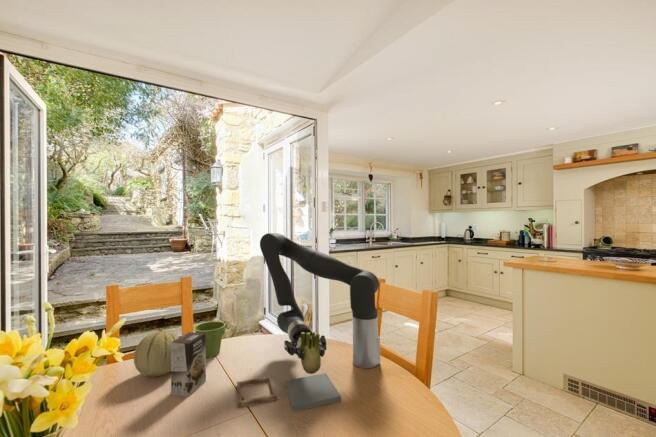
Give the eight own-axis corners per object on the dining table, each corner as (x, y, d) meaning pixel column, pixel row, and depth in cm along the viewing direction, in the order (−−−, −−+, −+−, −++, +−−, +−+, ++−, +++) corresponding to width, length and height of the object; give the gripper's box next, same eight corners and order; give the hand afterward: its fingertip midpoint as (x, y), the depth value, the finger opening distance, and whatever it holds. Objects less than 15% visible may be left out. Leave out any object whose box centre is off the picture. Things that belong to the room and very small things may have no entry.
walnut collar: (271, 379, 100) (271, 375, 100) (277, 399, 88) (277, 395, 88) (237, 385, 96) (237, 381, 96) (238, 407, 85) (238, 403, 85)
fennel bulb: (298, 371, 92) (298, 332, 92) (309, 365, 96) (309, 327, 96) (312, 377, 88) (312, 336, 88) (323, 371, 92) (323, 332, 92)
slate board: (326, 377, 101) (326, 373, 101) (341, 401, 87) (341, 396, 87) (284, 385, 96) (284, 380, 96) (293, 411, 83) (293, 406, 83)
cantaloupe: (138, 391, 94) (137, 343, 94) (130, 373, 105) (130, 330, 105) (188, 374, 104) (187, 331, 104) (176, 360, 115) (176, 320, 115)
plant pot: (232, 351, 122) (231, 323, 122) (206, 363, 112) (206, 333, 112) (213, 345, 128) (213, 319, 128) (187, 356, 118) (187, 327, 118)
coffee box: (188, 397, 90) (188, 343, 90) (170, 394, 92) (169, 342, 92) (206, 381, 99) (206, 332, 99) (189, 379, 101) (189, 331, 101)
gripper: (279, 326, 103) (289, 346, 87) (319, 321, 108) (335, 339, 92) (279, 347, 103) (289, 371, 87) (319, 342, 108) (335, 363, 92)
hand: (312, 354), depth 89 cm, fingers closed on fennel bulb, 5 cm apart
